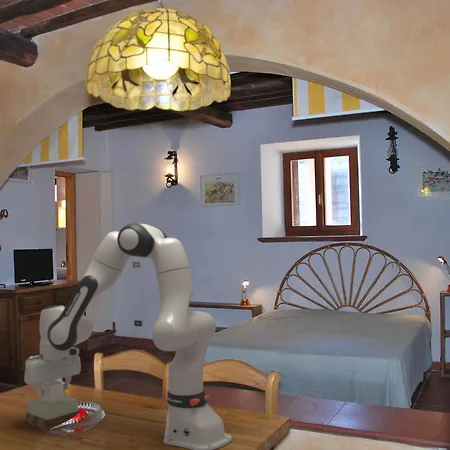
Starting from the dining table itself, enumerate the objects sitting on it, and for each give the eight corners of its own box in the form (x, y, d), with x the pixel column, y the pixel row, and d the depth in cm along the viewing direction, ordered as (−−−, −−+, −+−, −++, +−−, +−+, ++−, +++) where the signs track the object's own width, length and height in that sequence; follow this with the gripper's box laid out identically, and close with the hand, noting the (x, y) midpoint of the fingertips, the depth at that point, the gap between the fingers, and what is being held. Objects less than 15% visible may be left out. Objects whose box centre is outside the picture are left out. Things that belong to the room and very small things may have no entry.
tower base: (80, 422, 197) (80, 411, 197) (47, 433, 187) (47, 421, 187) (60, 415, 206) (59, 404, 206) (26, 424, 196) (26, 413, 196)
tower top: (78, 411, 197) (77, 399, 197) (47, 420, 188) (47, 408, 188) (58, 404, 205) (58, 393, 205) (28, 413, 196) (27, 401, 196)
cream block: (63, 400, 197) (63, 382, 197) (50, 403, 193) (50, 385, 193) (54, 397, 200) (54, 380, 200) (42, 401, 196) (42, 383, 196)
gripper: (30, 358, 187) (30, 400, 187) (83, 348, 202) (83, 387, 202) (20, 356, 191) (20, 397, 191) (72, 346, 206) (73, 384, 206)
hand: (53, 392), depth 196 cm, fingers open, 8 cm apart
